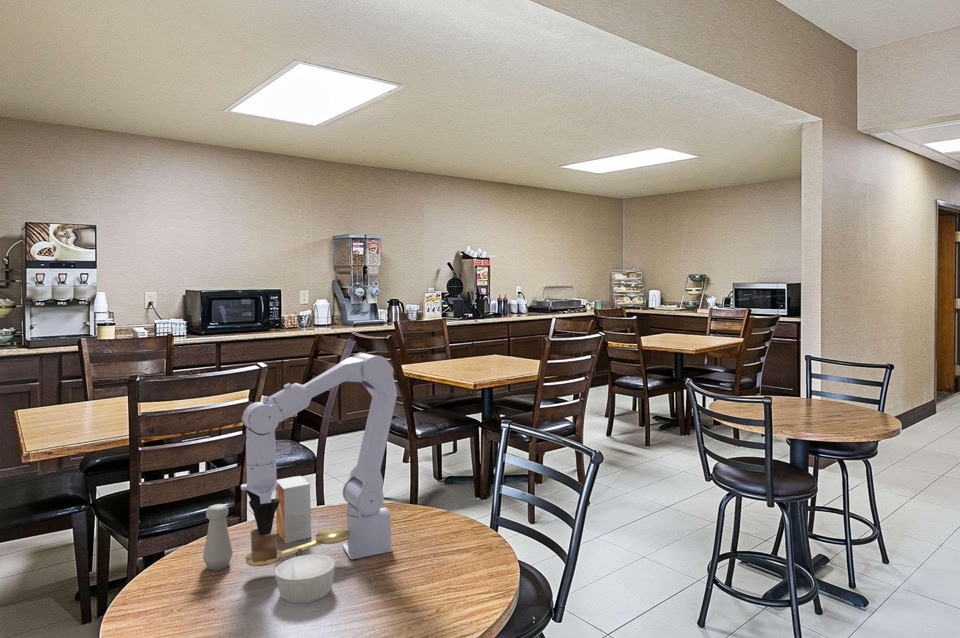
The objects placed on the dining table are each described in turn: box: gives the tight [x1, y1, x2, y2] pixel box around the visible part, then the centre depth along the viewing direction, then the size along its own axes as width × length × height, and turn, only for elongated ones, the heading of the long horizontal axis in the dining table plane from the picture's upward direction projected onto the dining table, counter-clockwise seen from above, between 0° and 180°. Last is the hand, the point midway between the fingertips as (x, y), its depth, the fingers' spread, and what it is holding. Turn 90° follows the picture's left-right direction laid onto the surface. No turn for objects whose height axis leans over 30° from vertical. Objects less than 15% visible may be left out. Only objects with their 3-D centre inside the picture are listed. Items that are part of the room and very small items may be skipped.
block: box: [250, 525, 278, 562], centre depth 125 cm, size 4×4×5 cm
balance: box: [245, 527, 349, 567], centre depth 128 cm, size 21×7×6 cm, turn 115°
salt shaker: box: [202, 503, 233, 571], centre depth 130 cm, size 6×6×13 cm
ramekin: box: [274, 554, 336, 605], centre depth 118 cm, size 11×11×5 cm
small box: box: [275, 475, 312, 544], centre depth 146 cm, size 8×6×13 cm
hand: (263, 527), depth 125 cm, fingers open, 7 cm apart
